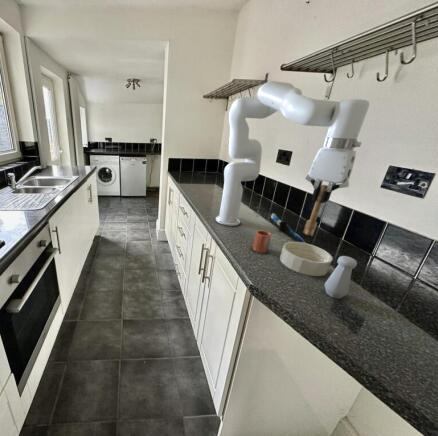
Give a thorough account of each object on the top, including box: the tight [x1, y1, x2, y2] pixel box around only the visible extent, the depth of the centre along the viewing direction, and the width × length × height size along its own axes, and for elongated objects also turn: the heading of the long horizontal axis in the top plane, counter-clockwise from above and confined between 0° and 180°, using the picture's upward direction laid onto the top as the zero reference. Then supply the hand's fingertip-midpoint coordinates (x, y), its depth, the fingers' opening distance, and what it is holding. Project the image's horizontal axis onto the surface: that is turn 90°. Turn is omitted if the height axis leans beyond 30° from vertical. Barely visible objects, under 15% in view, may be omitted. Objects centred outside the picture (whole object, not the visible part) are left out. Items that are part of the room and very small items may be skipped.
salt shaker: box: [323, 255, 358, 300], centre depth 70 cm, size 6×6×13 cm
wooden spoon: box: [302, 184, 328, 237], centre depth 79 cm, size 3×2×18 cm, turn 33°
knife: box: [270, 212, 306, 243], centre depth 113 cm, size 31×3×4 cm, turn 178°
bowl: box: [279, 241, 334, 277], centre depth 86 cm, size 15×15×6 cm
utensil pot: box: [252, 229, 272, 253], centre depth 95 cm, size 5×6×8 cm
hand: (319, 201), depth 78 cm, fingers closed on wooden spoon, 1 cm apart
